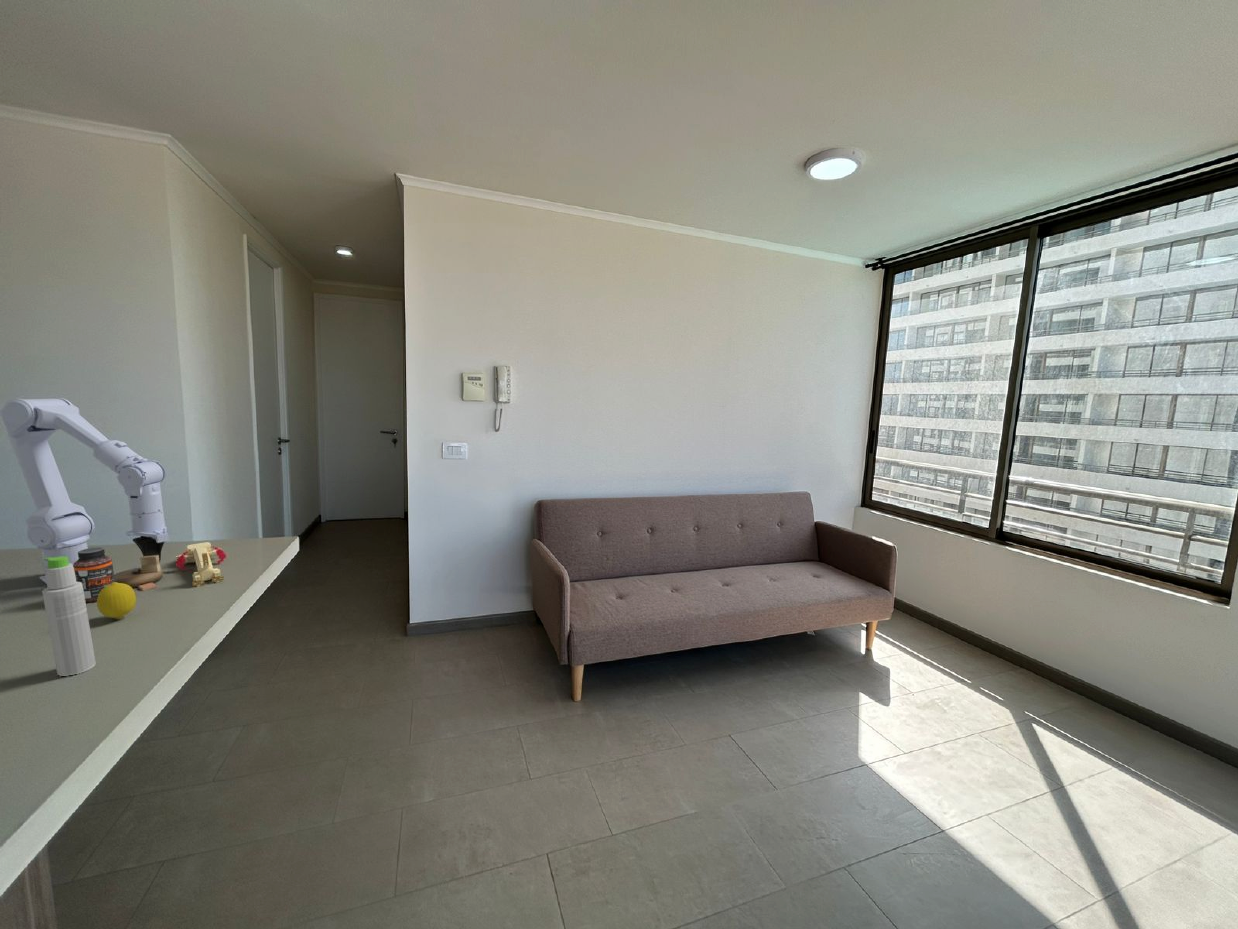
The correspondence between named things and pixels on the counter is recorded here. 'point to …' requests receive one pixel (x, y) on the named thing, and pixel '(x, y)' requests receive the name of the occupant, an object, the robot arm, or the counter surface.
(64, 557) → the bottle
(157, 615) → the counter surface
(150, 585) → the salmon square tile
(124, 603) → the lemon
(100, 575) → the supplement bottle
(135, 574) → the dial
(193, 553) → the toy vehicle
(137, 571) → the pivot pin
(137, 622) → the counter surface
